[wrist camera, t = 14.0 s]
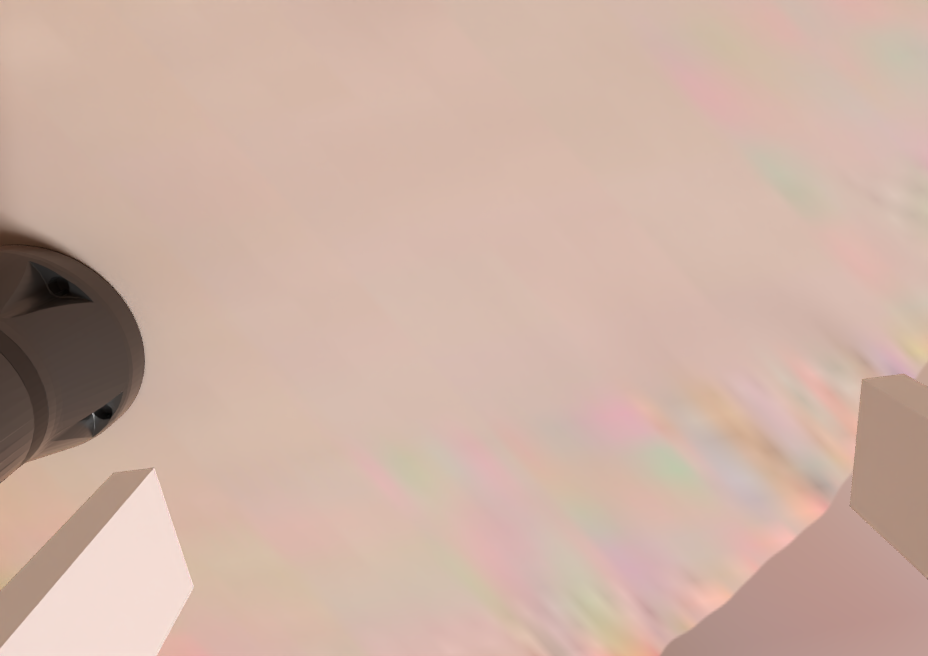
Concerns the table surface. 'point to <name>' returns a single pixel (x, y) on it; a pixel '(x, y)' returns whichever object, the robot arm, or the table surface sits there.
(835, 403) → the table surface
